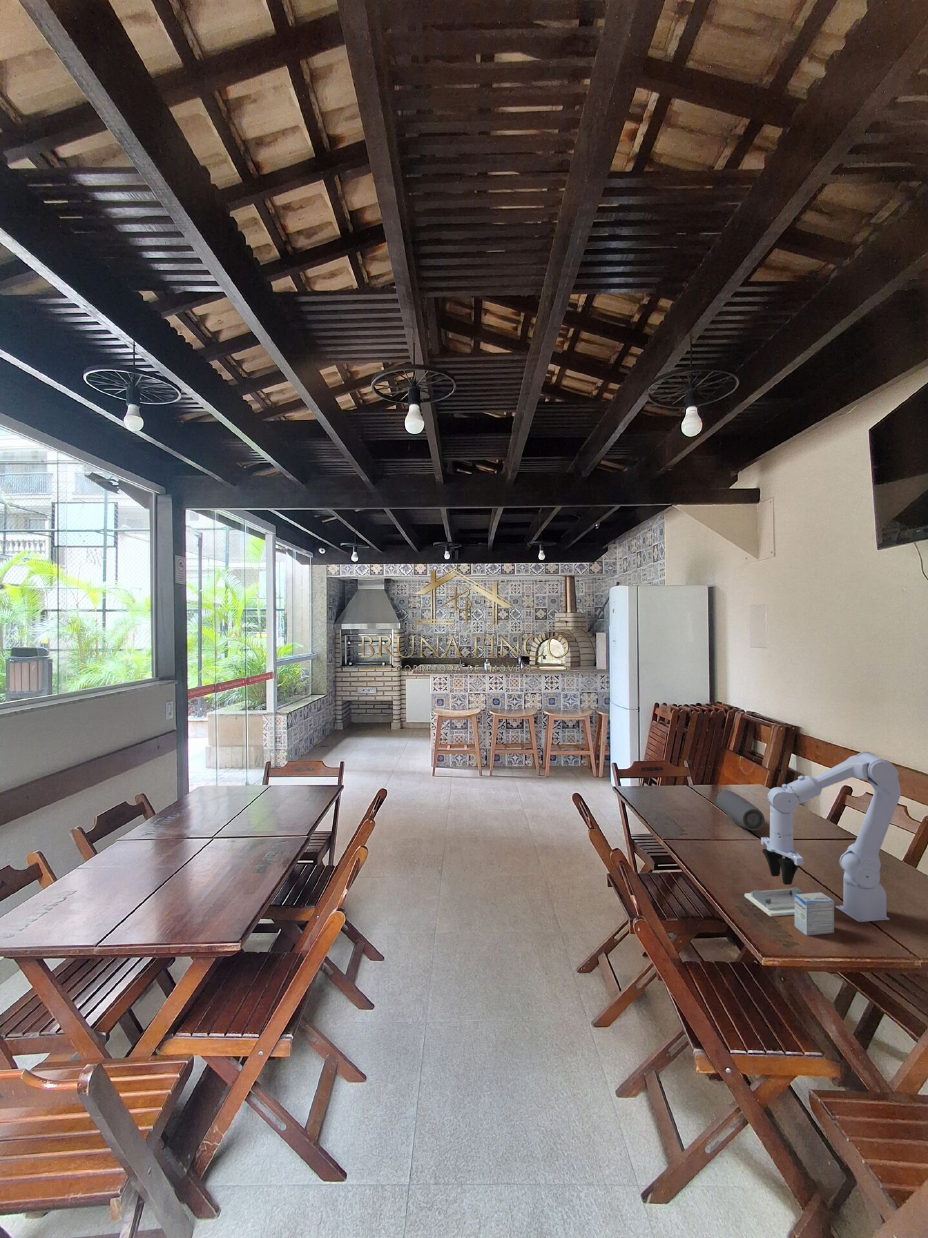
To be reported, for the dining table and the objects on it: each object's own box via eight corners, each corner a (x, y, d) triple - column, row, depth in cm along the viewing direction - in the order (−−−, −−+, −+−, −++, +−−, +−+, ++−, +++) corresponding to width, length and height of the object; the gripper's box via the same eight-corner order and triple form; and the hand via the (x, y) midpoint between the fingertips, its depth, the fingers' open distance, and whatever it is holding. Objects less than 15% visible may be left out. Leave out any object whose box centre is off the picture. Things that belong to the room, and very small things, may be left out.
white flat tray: (791, 892, 162) (791, 882, 162) (820, 912, 151) (820, 901, 151) (744, 896, 160) (744, 885, 160) (770, 916, 149) (770, 905, 149)
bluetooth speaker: (766, 834, 206) (766, 807, 206) (741, 834, 207) (741, 807, 207) (737, 812, 229) (737, 788, 229) (715, 812, 229) (715, 788, 229)
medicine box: (821, 924, 145) (821, 891, 145) (834, 934, 141) (834, 900, 141) (793, 927, 144) (793, 893, 144) (806, 936, 140) (806, 902, 140)
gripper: (751, 823, 162) (751, 869, 162) (786, 842, 148) (786, 893, 148) (773, 821, 163) (773, 867, 163) (810, 841, 149) (810, 891, 149)
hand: (781, 879), depth 156 cm, fingers open, 4 cm apart
